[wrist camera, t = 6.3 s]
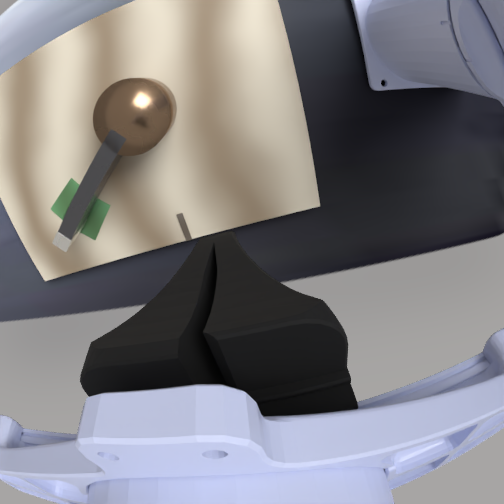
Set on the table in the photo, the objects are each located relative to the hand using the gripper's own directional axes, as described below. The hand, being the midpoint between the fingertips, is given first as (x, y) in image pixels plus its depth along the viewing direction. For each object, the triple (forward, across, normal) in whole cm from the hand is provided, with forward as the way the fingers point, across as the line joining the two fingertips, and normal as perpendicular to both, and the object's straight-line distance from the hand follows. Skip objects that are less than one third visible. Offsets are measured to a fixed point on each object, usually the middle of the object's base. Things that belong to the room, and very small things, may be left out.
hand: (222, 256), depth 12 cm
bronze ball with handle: (+8, +6, -4) cm, 10 cm away
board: (+9, +5, -5) cm, 12 cm away
